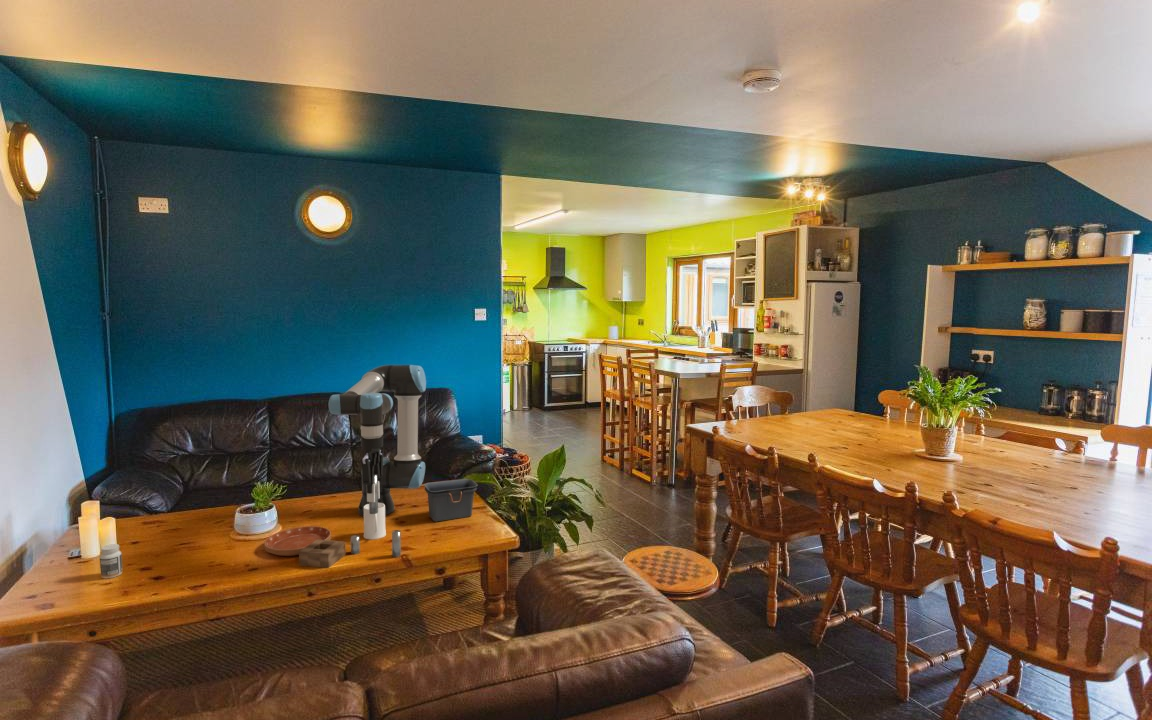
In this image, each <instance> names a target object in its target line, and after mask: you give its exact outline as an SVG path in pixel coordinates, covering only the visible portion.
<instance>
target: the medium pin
mask: <svg viewBox="0 0 1152 720" xmlns="http://www.w3.org/2000/svg"><path fill="white" fill-rule="evenodd" d="M401 533H402V531H401V530H400V529H399V530H398V529H395V530H392V531H391V557H393V558H399V557H401V552H402V547H401V544H402V543H401V542H402V541H401V540H402V536H401V535H402V534H401Z"/></svg>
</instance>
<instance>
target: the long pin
mask: <svg viewBox="0 0 1152 720" xmlns="http://www.w3.org/2000/svg"><path fill="white" fill-rule="evenodd" d="M373 484H375V502H369V513H370V514H377V513H378V483H377V474H374V481H373Z"/></svg>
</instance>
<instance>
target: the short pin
mask: <svg viewBox="0 0 1152 720" xmlns="http://www.w3.org/2000/svg"><path fill="white" fill-rule="evenodd" d="M360 542H361V541H360V535H357V534H356V535H354V534H353V535H352V536H350V554H352V555H357V554H358V555H359V554H360V549H361V548H360V547H361V545H360Z"/></svg>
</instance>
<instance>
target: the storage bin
mask: <svg viewBox="0 0 1152 720" xmlns="http://www.w3.org/2000/svg"><path fill="white" fill-rule="evenodd" d="M423 486H424V491H425V492H426V493H427V503H428V514H429V517H430V518H431V520H432V521H433V522H436V523H437V522H442V521H449V520H455V519H464V518H469V517H471V516H472V514H473V506H474V505H473V504H474V495H475V492H476V491H477V489H478V488H477V487H478V483H477V482H475V481H474V480H473V479H471V478H460V479H452V480H441V481H434V482H433V481H432V482H426V483H424V484H423Z"/></svg>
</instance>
